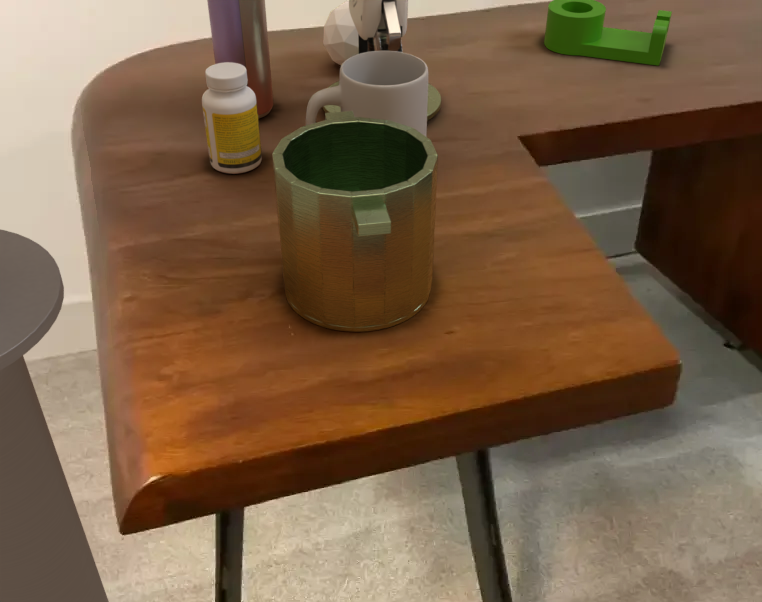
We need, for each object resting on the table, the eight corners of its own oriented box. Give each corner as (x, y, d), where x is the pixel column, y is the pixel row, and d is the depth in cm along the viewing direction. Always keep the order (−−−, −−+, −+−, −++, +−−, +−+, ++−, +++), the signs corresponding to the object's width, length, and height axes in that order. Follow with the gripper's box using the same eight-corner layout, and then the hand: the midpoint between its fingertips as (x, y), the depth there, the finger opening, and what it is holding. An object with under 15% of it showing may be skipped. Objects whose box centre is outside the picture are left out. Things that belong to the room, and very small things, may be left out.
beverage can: (224, 124, 102) (206, -17, 91) (218, 101, 106) (201, -36, 96) (277, 119, 103) (266, -22, 92) (269, 96, 107) (258, -41, 97)
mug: (413, 149, 97) (415, 45, 90) (435, 188, 91) (440, 81, 84) (302, 162, 95) (295, 57, 88) (317, 203, 89) (311, 95, 82)
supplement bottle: (273, 162, 95) (265, 70, 89) (231, 181, 93) (219, 87, 86) (241, 145, 98) (230, 54, 91) (199, 162, 95) (185, 70, 89)
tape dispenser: (539, 51, 117) (543, 13, 113) (549, 30, 122) (554, -6, 118) (658, 66, 113) (666, 28, 110) (664, 45, 118) (672, 8, 115)
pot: (296, 361, 72) (285, 223, 63) (275, 237, 85) (263, 109, 76) (452, 343, 74) (462, 206, 65) (408, 225, 87) (411, 97, 78)
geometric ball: (371, 90, 115) (399, 50, 108) (311, 73, 111) (335, 31, 104) (372, 39, 117) (398, -3, 110) (313, 21, 114) (336, -23, 107)
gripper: (330, -111, 96) (336, 51, 108) (356, -61, 84) (359, 116, 96) (400, -114, 97) (398, 47, 109) (436, -65, 85) (429, 111, 97)
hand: (380, 79), depth 102 cm, fingers open, 9 cm apart
